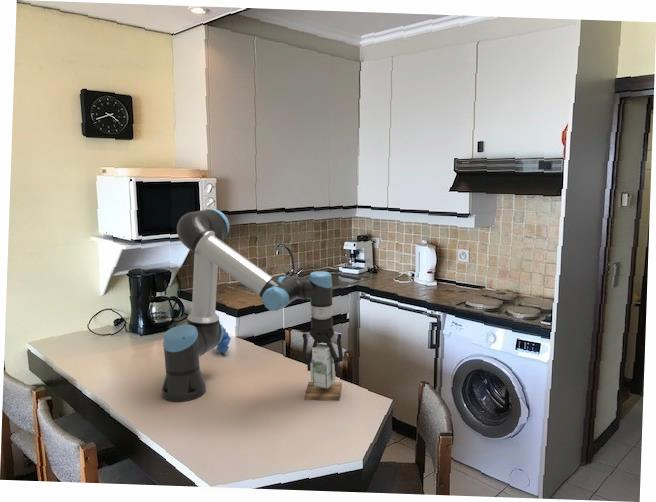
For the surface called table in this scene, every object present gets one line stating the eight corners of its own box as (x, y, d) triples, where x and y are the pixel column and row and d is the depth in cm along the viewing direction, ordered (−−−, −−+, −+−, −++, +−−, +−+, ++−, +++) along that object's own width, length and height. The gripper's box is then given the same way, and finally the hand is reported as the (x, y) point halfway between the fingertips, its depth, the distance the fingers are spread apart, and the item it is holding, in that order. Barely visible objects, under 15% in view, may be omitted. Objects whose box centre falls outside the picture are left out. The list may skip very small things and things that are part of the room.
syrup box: (334, 383, 186) (333, 343, 183) (327, 389, 180) (326, 349, 178) (319, 380, 188) (318, 341, 186) (312, 386, 183) (311, 347, 180)
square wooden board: (304, 400, 179) (304, 395, 179) (309, 385, 191) (308, 381, 191) (339, 400, 178) (339, 396, 178) (341, 386, 190) (341, 381, 190)
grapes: (237, 354, 224) (236, 327, 222) (223, 358, 220) (221, 331, 218) (225, 347, 233) (224, 321, 231) (211, 351, 229) (210, 324, 227)
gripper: (291, 319, 177) (293, 383, 181) (350, 319, 175) (350, 384, 179) (294, 313, 185) (296, 374, 188) (351, 313, 183) (351, 375, 186)
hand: (323, 379), depth 184 cm, fingers closed on syrup box, 7 cm apart
